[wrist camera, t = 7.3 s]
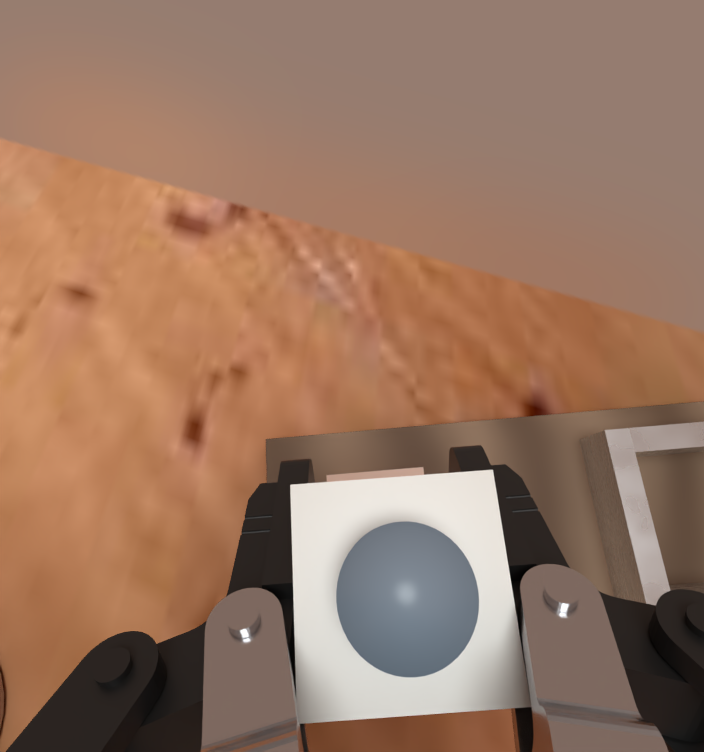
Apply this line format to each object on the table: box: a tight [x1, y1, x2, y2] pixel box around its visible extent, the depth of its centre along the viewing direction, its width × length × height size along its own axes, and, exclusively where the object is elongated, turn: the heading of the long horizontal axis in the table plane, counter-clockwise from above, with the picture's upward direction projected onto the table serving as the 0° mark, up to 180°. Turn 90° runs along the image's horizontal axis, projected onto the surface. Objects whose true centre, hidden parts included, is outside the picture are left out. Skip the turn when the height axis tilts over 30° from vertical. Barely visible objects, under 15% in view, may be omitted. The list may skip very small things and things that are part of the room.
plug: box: [290, 470, 531, 724], centre depth 10 cm, size 4×4×8 cm
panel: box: [266, 402, 704, 597], centre depth 26 cm, size 28×12×2 cm, turn 95°
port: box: [579, 422, 704, 605], centre depth 23 cm, size 9×9×3 cm
